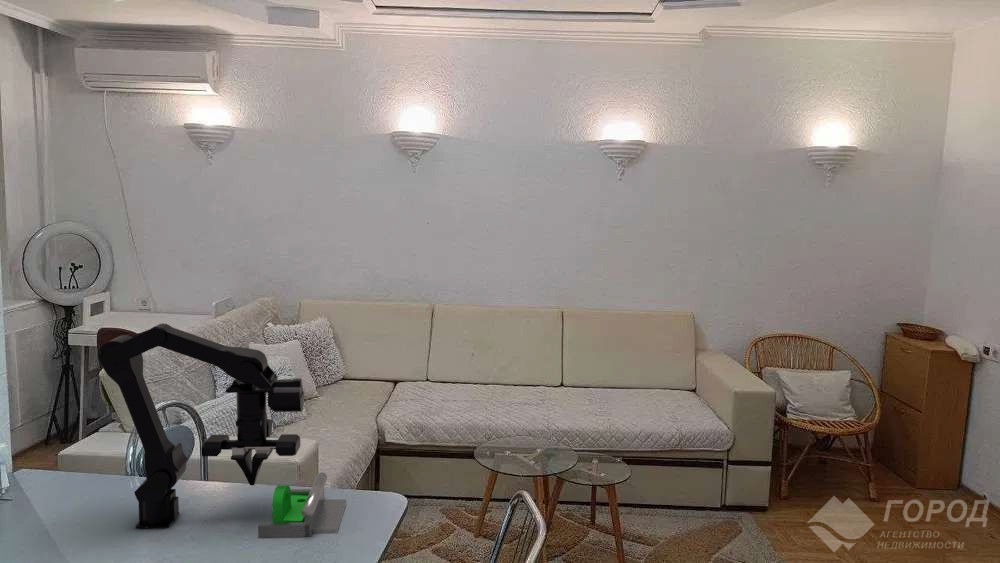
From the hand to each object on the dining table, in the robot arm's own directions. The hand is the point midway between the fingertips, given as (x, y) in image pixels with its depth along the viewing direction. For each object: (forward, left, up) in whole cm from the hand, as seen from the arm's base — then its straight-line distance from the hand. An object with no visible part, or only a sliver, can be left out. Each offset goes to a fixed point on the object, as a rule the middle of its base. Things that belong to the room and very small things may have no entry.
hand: (252, 484), depth 145 cm
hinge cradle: (+11, 0, -7) cm, 13 cm away
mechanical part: (+9, +1, -8) cm, 12 cm away
